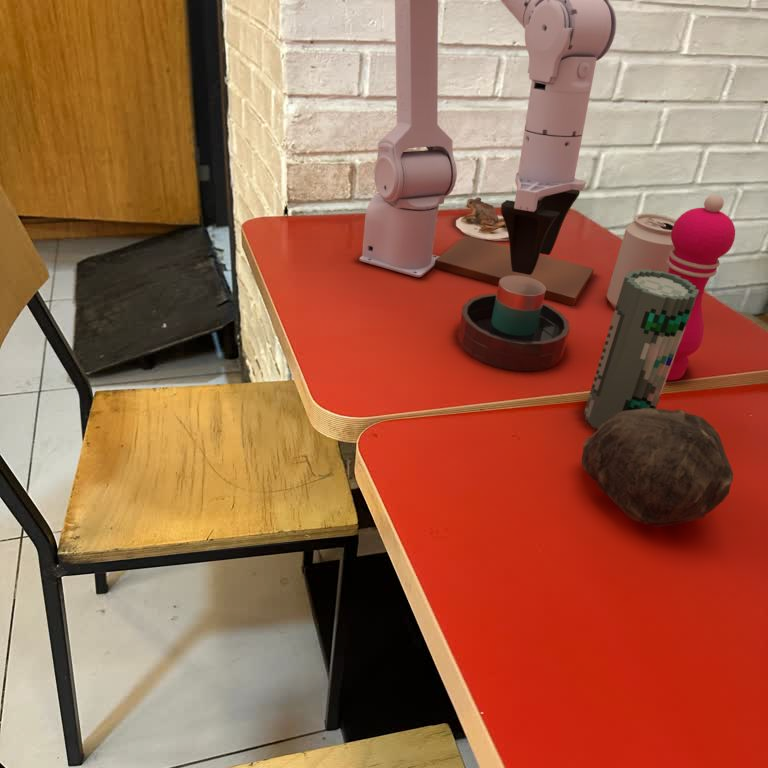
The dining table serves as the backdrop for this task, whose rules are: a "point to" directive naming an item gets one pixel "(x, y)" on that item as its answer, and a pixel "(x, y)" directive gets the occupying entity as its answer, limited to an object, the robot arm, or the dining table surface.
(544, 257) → the board
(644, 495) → the rock
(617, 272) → the can
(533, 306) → the tin can
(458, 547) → the dining table surface
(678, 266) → the pepper mill
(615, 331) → the can
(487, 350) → the pan
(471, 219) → the frog figurine
